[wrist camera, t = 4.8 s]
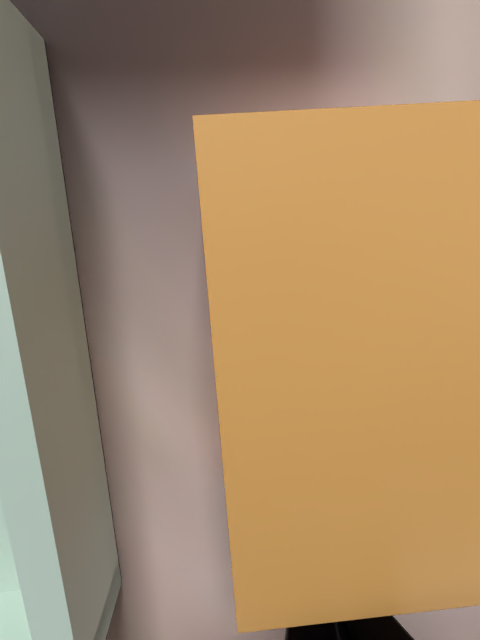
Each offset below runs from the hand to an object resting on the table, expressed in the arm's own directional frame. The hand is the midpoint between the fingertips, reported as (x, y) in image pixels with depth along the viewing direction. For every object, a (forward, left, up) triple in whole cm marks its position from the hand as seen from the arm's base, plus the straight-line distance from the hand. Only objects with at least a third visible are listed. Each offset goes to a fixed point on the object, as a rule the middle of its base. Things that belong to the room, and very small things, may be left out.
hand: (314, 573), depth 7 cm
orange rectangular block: (+5, 0, -2) cm, 5 cm away
